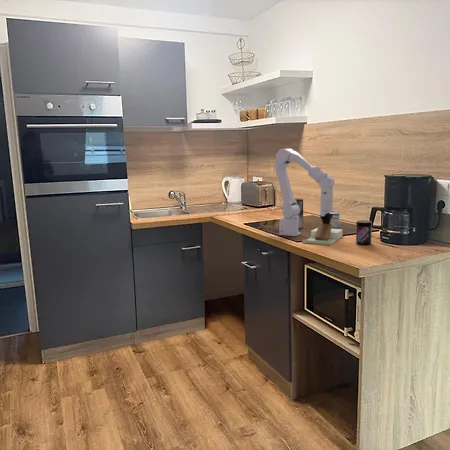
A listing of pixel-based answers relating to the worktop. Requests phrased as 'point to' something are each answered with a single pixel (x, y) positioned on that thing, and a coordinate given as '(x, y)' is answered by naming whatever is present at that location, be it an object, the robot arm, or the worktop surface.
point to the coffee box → (300, 203)
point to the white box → (333, 234)
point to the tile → (323, 231)
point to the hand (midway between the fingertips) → (326, 228)
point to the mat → (319, 241)
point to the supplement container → (363, 232)
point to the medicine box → (335, 221)
